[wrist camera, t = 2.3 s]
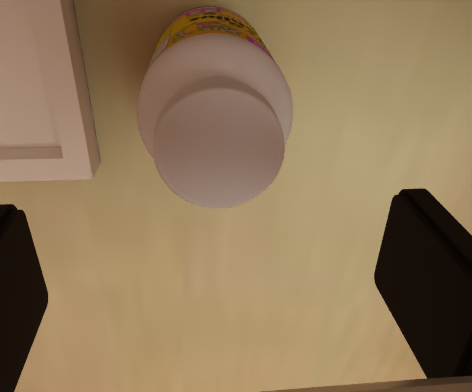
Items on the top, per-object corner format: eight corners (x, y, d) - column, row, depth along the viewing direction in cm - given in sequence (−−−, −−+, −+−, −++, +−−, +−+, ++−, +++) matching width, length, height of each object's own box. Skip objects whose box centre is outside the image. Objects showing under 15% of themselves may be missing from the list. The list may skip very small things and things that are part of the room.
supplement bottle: (284, 41, 25) (352, 120, 15) (230, 131, 28) (252, 254, 17) (185, -21, 23) (177, 16, 12) (136, 83, 26) (94, 189, 15)
